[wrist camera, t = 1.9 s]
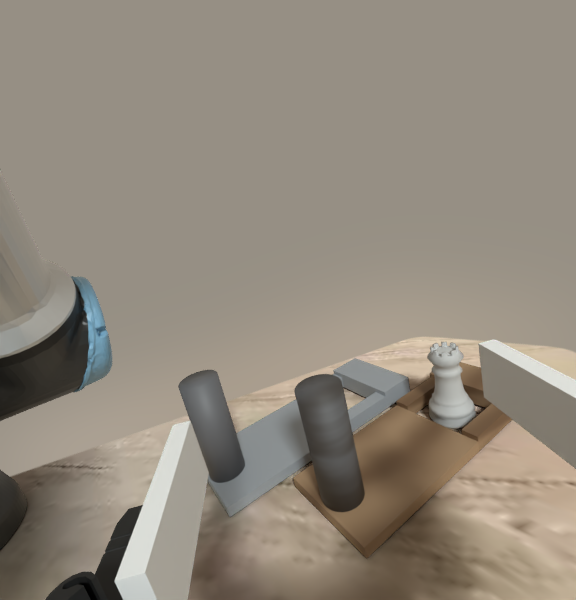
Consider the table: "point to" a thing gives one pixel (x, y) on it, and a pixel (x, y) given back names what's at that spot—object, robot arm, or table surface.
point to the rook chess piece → (449, 389)
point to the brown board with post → (384, 456)
